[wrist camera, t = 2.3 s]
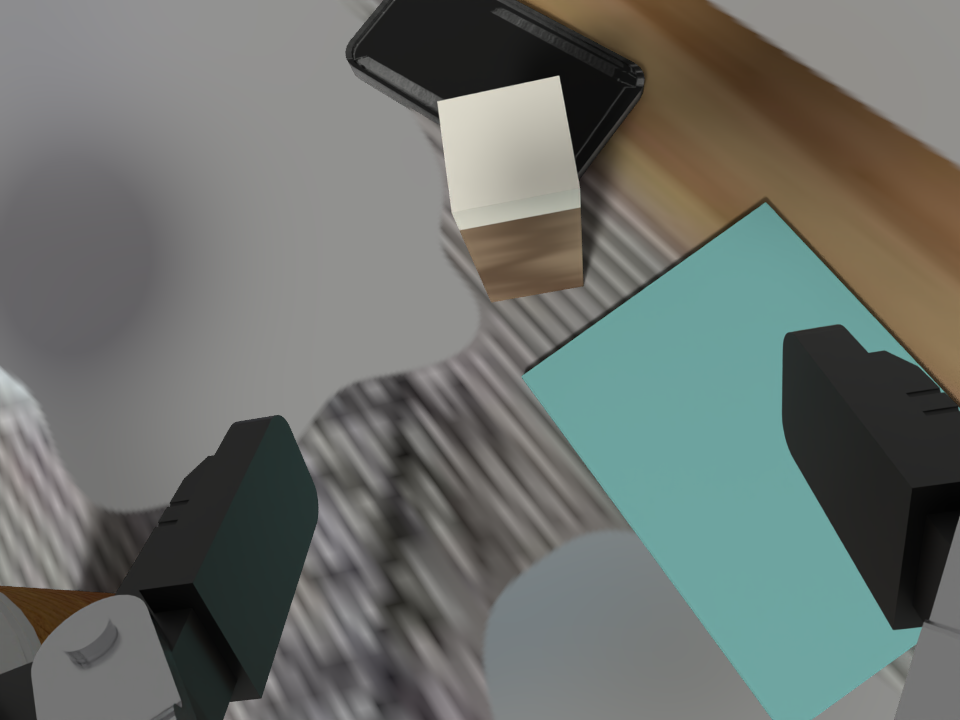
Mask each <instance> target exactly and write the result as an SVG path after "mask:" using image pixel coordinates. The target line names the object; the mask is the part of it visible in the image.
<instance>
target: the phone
mask: <svg viewBox="0 0 960 720" xmlns="http://www.w3.org/2000/svg"><path fill="white" fill-rule="evenodd" d="M346 58H347V60H348V62H349V64H350V66H351V68H352V70H353V72H354V74H355V76H357V77H358V78H359V79H360V80H362V81H364V82H365V83H367V84H368V85H370V86H372V87H373V88H375V89H377V90H378V91H380V92H382V93H383V94H385V95H387V96H388V97H390V98H391V99H393V100H395V101H396V102H398V103H400V104H401V105H403V106H405V107H406V108H408V109H409V110H410V107H411V108H412V109H414V110H415V111H417V112H419V113H420V114H422V115H424V116H425V117H427V118H429V119H430V120H432V121H434V122H435V123H437V124H439V125H440V119H439V111H438V103H437V101H442V100H446V99H451V98H456V97H461V96H465V95H470V94H475V93H479V92H484V91H489V90H493V89H498V88H503V87H508V86H512V85H517V84H522V83H526V82H531V81H536V80H541V79H545V78H550V77H555V76H559V77H560V82H561V88H562V93H563V99H564V104H565V109H566V115H567V120H568V126H569V131H570V136H571V142H572V147H573V153H574V158H575V163H576V169H577V174H578V180H579V179H580V178H581V176H582V175H583V174H584V172H585V171H586V170H587V168H588V167H589V166H590V164H591V163H592V162H593V160H594V159H595V158H596V156H597V155H598V154H599V152H600V151H601V150H602V148H603V147H604V146H605V145H606V143H607V142H608V141H609V139H610V138H611V137H612V135H613V134H614V133H615V131H616V130H617V129H618V127H619V126H620V125H621V123H622V122H623V121H624V119H625V118H626V117H627V115H628V114H629V113H630V111H631V110H632V109H633V108H634V106H635V105H636V104H637V102H638V101H639V100H640V98H641V96H642V94H643V87H644V79H645V78H644V74H643V71H642V70H641V68H640V67H639V66H638V65H637V64H635V63H634V62H632V61H630V60H628V59H626V58H624V57H622V56H620V55H619V54H617V53H615V52H613V51H611V50H609V49H607V48H605V47H603V46H601V45H600V44H598V43H596V42H594V41H592V40H590V39H588V38H586V37H584V36H583V35H581V34H579V33H577V32H575V31H573V30H571V29H569V28H567V27H565V26H564V25H562V24H560V23H558V22H556V21H554V20H552V19H550V18H548V17H547V16H545V15H543V14H541V13H539V12H537V11H535V10H533V9H531V8H530V7H528V6H526V5H524V4H522V3H520V2H518V1H516V0H383V1H382V3H381V4H380V5H379V6H378V7H377V9H376V10H375V11H374V12H373V14H372V15H371V16H370V17H369V18H368V20H367V21H366V22H365V23H364V24H363V26H362V27H361V28H360V29H359V31H358V32H357V33H356V34H355V36H354V37H353V38H352V39H351V40H350V42H349V44H348V45H347V48H346Z"/></svg>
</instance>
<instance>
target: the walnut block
mask: <svg viewBox="0 0 960 720" xmlns="http://www.w3.org/2000/svg"><path fill="white" fill-rule="evenodd" d="M437 103H438V111H439V119H440V126H441V134H442V141H443V149H444V157H445V164H446V172H447V180H448V187H449V195H450V202H451V210H452V214H453V216H454V219H455V221H456V223H457V225H458V228H459V230H460V232H461V235H462V237H463V239H464V241H465V244H466V246H467V248H468V250H469V253H470V255H471V257H472V260H473V262H474V264H475V266H476V269H477V271H478V273H479V275H480V278H481V280H482V282H483V285H484V287H485V289H486V291H487V294H488V296H489V298H490V300H491V302H496V301H502V300H507V299H513V298H519V297H525V296H530V295H536V294H542V293H547V292H553V291H559V290H564V289H570V288H576V287H581V286H583V262H582V232H581V202H580V185H579V180H578V174H577V169H576V163H575V158H574V153H573V147H572V142H571V136H570V131H569V126H568V120H567V115H566V109H565V104H564V99H563V93H562V88H561V82H560V77H559V76H555V77H550V78H545V79H541V80H536V81H531V82H526V83H522V84H517V85H512V86H508V87H503V88H498V89H493V90H489V91H484V92H479V93H475V94H470V95H465V96H461V97H456V98H451V99H446V100H442V101H437Z"/></svg>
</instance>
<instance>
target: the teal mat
mask: <svg viewBox="0 0 960 720" xmlns="http://www.w3.org/2000/svg"><path fill="white" fill-rule="evenodd" d="M836 324H841V325H843V326H844V327H845V328H846V329H847V330H848V331H849V332H850V333H851V334H852V335H853V336H854V338H855V339H856V340H857V341H858V342H859V343H860V344H861V345H862V346H863V347H864V348H865V349H866V351H867V352H868V353H870V352H877V351H883V350H885V351H887V352H889V353H891V354H894V355H896V356H898V357H900V358H902V359H904V360H906V361H908V362H910V363H912V364H915V365H917V366H918V367H919V368H920V369H922V367H921V366H920V365H919V364H918V363H917V362H916V361H915V360H914V359H913V358H912V357H911V356H910V355H909V354H908V353H907V352H906V350H905V349H904V348H903V347H902V346H901V345H900V344H899V343H898V342H897V341H896V340H895V339H894V338H893V337H892V336H891V335H890V334H889V332H888V331H887V330H886V329H885V328H884V327H883V326H882V325H881V324H880V323H879V322H878V321H877V320H876V319H875V318H874V317H873V315H872V314H871V313H870V312H869V311H868V310H867V309H866V308H865V307H864V306H863V305H862V304H861V303H860V302H859V301H858V300H857V298H856V297H855V296H854V295H853V294H852V293H851V292H850V291H849V290H848V289H847V288H846V287H845V286H844V285H843V284H842V283H841V281H840V280H839V279H838V278H837V277H836V276H835V275H834V274H833V273H832V272H831V271H830V270H829V269H828V268H827V267H826V266H825V265H824V263H823V262H822V261H821V260H820V259H819V258H818V257H817V256H816V255H815V254H814V253H813V252H812V251H811V250H810V249H809V248H808V246H807V245H806V244H805V243H804V242H803V241H802V240H801V239H800V238H799V237H798V236H797V235H796V234H795V233H794V232H793V231H792V229H791V228H790V227H789V226H788V225H787V224H786V223H785V222H784V221H783V220H782V219H781V218H780V217H779V216H778V215H777V214H776V212H775V211H774V210H773V209H772V208H771V207H770V206H769V205H768V204H767V203H766V202H765V203H764V204H762V205H761V206H760V207H758V208H757V209H755V210H754V211H753V212H751V213H750V214H748V215H747V216H746V217H744V218H743V219H741V220H740V221H739V222H737V223H736V224H734V225H733V226H732V227H730V228H729V229H727V230H726V231H725V232H723V233H722V234H720V235H719V236H718V237H716V238H715V239H713V240H712V241H711V242H709V243H708V244H706V245H705V246H704V247H702V248H701V249H699V250H698V251H697V252H695V253H694V254H692V255H691V256H689V257H688V258H687V259H685V260H684V261H682V262H681V263H680V264H678V265H677V266H675V267H674V268H673V269H671V270H670V271H668V272H667V273H666V274H664V275H663V276H661V277H660V278H659V279H657V280H656V281H654V282H653V283H652V284H650V285H649V286H647V287H646V288H645V289H643V290H642V291H640V292H639V293H638V294H636V295H635V296H633V297H632V298H631V299H629V300H628V301H626V302H625V303H624V304H622V305H621V306H619V307H618V308H617V309H615V310H614V311H612V312H611V313H610V314H608V315H607V316H605V317H604V318H603V319H601V320H600V321H598V322H597V323H596V324H594V325H593V326H591V327H590V328H589V329H587V330H586V331H584V332H583V333H582V334H580V335H579V336H577V337H576V338H575V339H573V340H572V341H570V342H569V343H568V344H566V345H565V346H563V347H562V348H560V349H559V350H558V351H556V352H555V353H553V354H552V355H551V356H549V357H548V358H546V359H545V360H544V361H542V362H541V363H539V364H538V365H537V366H535V367H534V368H532V369H531V370H530V371H528V372H527V373H525V374H524V375H523V376H522V379H523V380H524V381H525V383H526V384H527V385H528V387H529V388H530V390H531V391H532V392H533V394H534V395H535V396H536V398H537V399H538V400H539V402H540V403H541V405H542V406H543V407H544V409H545V410H546V411H547V413H548V414H549V415H550V417H551V418H552V420H553V421H554V422H555V424H556V425H557V426H558V428H559V429H560V430H561V432H562V433H563V435H564V436H565V437H566V439H567V440H568V441H569V443H570V444H571V445H572V447H573V448H574V450H575V451H576V452H577V454H578V455H579V456H580V458H581V459H582V461H583V462H584V463H585V465H586V466H587V467H588V469H589V470H590V471H591V473H592V474H593V476H594V477H595V478H596V480H597V481H598V482H599V484H600V485H601V486H602V488H603V489H604V491H605V492H606V493H607V495H608V496H609V497H610V499H611V500H612V501H613V503H614V504H615V506H616V507H617V508H618V510H619V511H620V512H621V514H622V515H623V516H624V518H625V519H626V521H627V522H628V523H629V525H630V526H631V527H632V529H633V530H634V532H635V533H636V534H637V536H638V537H639V538H640V540H641V541H642V542H643V544H644V545H645V546H646V548H647V549H648V551H649V552H650V553H651V555H652V556H653V557H654V559H655V560H656V561H657V563H658V564H659V566H660V567H661V568H662V570H663V571H664V572H665V574H666V575H667V576H668V578H669V579H670V581H671V582H672V583H673V585H674V586H675V587H676V589H677V590H678V592H679V593H680V594H681V596H682V597H683V598H684V600H685V601H686V602H687V604H688V605H689V606H690V608H691V609H692V611H693V612H694V613H695V615H696V616H697V618H698V619H699V620H700V621H701V623H702V624H703V626H704V627H705V628H706V630H707V631H708V633H709V634H710V635H711V637H712V638H713V639H714V641H715V642H716V643H717V645H718V646H719V648H720V649H721V650H722V652H723V653H724V654H725V656H726V657H727V659H728V660H729V661H730V662H731V664H732V665H733V667H734V668H735V669H736V671H737V672H738V673H739V675H740V676H741V678H742V679H743V680H744V681H745V683H746V684H747V686H748V687H749V689H750V690H751V691H752V693H753V694H754V695H755V697H756V698H757V699H758V701H759V702H760V704H761V705H762V706H763V708H764V709H765V710H766V712H767V713H768V714H769V716H770V717H771V718H772V720H812V719H813V718H815V717H816V716H817V715H819V714H820V713H822V712H823V711H824V710H826V709H827V708H828V707H830V706H831V705H833V704H834V703H835V702H837V701H838V700H840V699H841V698H842V697H844V696H845V695H846V694H847V693H849V692H851V691H852V690H853V689H855V688H856V687H857V686H859V685H860V684H862V683H863V682H864V681H866V680H867V679H869V678H870V677H871V676H873V675H874V674H875V673H877V672H878V671H880V670H881V669H882V668H884V667H885V666H886V665H888V664H889V663H891V662H892V661H893V660H895V659H896V658H897V657H899V656H900V655H902V654H903V653H904V652H906V651H907V650H909V649H910V648H911V647H913V646H914V645H915V644H917V641H918V638H919V635H920V632H921V629H922V627H919V628H910V629H901V630H892V628H891V626H890V624H889V623H888V621H887V619H886V618H885V616H884V614H883V612H882V611H881V609H880V607H879V605H878V604H877V602H876V600H875V599H874V597H873V595H872V593H871V592H870V590H869V588H868V587H867V585H866V583H865V581H864V580H863V578H862V576H861V574H860V573H859V571H858V569H857V568H856V566H855V564H854V562H853V561H852V559H851V557H850V556H849V554H848V552H847V550H846V549H845V547H844V545H843V543H842V542H841V540H840V538H839V537H838V535H837V533H836V531H835V530H834V528H833V526H832V525H831V523H830V521H829V519H828V518H827V516H826V514H825V512H824V511H823V509H822V507H821V506H820V504H819V502H818V500H817V499H816V497H815V495H814V494H813V492H812V490H811V488H810V487H809V485H808V483H807V481H806V480H805V478H804V476H803V475H802V473H801V471H800V469H799V468H798V466H797V464H796V463H795V461H794V459H793V457H792V455H791V453H790V451H789V449H788V446H787V443H786V439H785V435H784V430H783V424H782V359H783V340H784V337H785V335H786V334H787V333H788V332H793V331H799V330H805V329H811V328H817V327H824V326H830V325H836ZM922 370H923V369H922ZM923 371H924V370H923ZM924 372H925V371H924ZM925 373H926V372H925ZM926 374H927V373H926ZM927 375H928V374H927ZM928 376H929V375H928ZM929 377H930V376H929ZM930 378H931V377H930ZM931 379H932V378H931ZM932 380H933V379H932ZM933 381H934V380H933ZM934 382H935V381H934ZM935 383H936V382H935ZM936 384H937V383H936ZM937 385H938V384H937ZM940 391H941V393H942V392H944V391H943V390H942V389H941V388H940ZM958 409H959V411H960V408H959V407H958Z"/></svg>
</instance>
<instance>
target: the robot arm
mask: <svg viewBox="0 0 960 720" xmlns="http://www.w3.org/2000/svg"><path fill="white" fill-rule="evenodd" d="M782 424H783V430H784V435H785V439H786V443H787V446H788V449H789V451H790V453H791V455H792V457H793V459H794V461H795V463H796V464H797V466H798V468H799V469H800V471H801V473H802V475H803V476H804V478H805V480H806V481H807V483H808V485H809V487H810V488H811V490H812V492H813V494H814V495H815V497H816V499H817V500H818V502H819V504H820V506H821V507H822V509H823V511H824V512H825V514H826V516H827V518H828V519H829V521H830V523H831V525H832V526H833V528H834V530H835V531H836V533H837V535H838V537H839V538H840V540H841V542H842V543H843V545H844V547H845V549H846V550H847V552H848V554H849V556H850V557H851V559H852V561H853V562H854V564H855V566H856V568H857V569H858V571H859V573H860V574H861V576H862V578H863V580H864V581H865V583H866V585H867V587H868V588H869V590H870V592H871V593H872V595H873V597H874V599H875V600H876V602H877V604H878V605H879V607H880V609H881V611H882V612H883V614H884V616H885V618H886V619H887V621H888V623H889V624H890V626H891V628H892V630H901V629H910V628H919V627H922V629H921V632H920V635H919V638H918V641H917V645H916V648H915V651H914V655H913V658H912V661H911V665H910V668H909V671H908V675H907V678H906V681H905V685H904V688H903V691H902V695H901V698H900V701H899V705H898V708H897V711H896V715H895V718H894V720H960V411H959V409H958V405H957V404H956V403H955V402H954V401H953V400H952V399H951V398H950V397H949V396H948V395H947V394H946V393H945V392H942V393H941V391H940V387H939V386H938V385H937V384H936V383H935V382H934V381H933V380H932V379H931V378H930V377H929V376H928V375H927V374H926V373H925V372H924V371H923V370H922V369H920V368H919V367H918V366H917V365H915V364H912V363H910V362H908V361H906V360H904V359H902V358H900V357H898V356H896V355H894V354H891V353H889V352H887V351H885V350H883V351H877V352H870V353H868V352H867V351H866V349H865V348H864V347H863V346H862V345H861V344H860V343H859V342H858V341H857V340H856V339H855V338H854V336H853V335H852V334H851V333H850V332H849V331H848V330H847V329H846V328H845V327H844V326H843V325H841V324H836V325H830V326H824V327H817V328H811V329H805V330H799V331H793V332H788V333H787V334H786V335H785V337H784V340H783V359H782ZM317 520H318V498H317V492H316V488H315V485H314V483H313V480H312V478H311V476H310V473H309V471H308V469H307V466H306V464H305V462H304V459H303V457H302V454H301V452H300V450H299V447H298V445H297V443H296V440H295V438H294V436H293V433H292V431H291V429H290V426H289V424H288V423H287V421H286V420H285V419H284V418H283V417H282V416H280V415H275V416H269V417H263V418H257V419H251V420H245V421H239V422H235V423H234V424H232V425H231V427H230V429H229V430H228V432H227V434H226V435H225V437H224V439H223V441H222V443H221V444H220V446H219V448H218V450H217V452H216V453H215V455H214V456H208V457H207V458H206V459H205V460H204V461H203V462H202V463H200V465H198V466H197V467H196V468H195V469H194V470H193V471H192V472H191V473H190V474H189V475H188V476H187V477H186V478H184V480H183V481H182V483H181V485H180V486H179V488H178V490H177V492H176V493H175V495H174V497H173V498H172V500H171V502H170V507H167V508H166V510H165V512H164V513H163V515H162V517H161V518H160V520H159V522H158V523H159V527H155V528H154V530H153V532H152V534H151V535H150V537H149V539H148V540H147V542H146V544H145V545H144V547H143V549H142V550H141V552H140V554H139V555H138V557H137V559H136V560H135V562H134V564H133V566H132V567H131V569H130V571H129V572H128V574H127V576H126V577H125V579H124V581H123V582H122V584H121V586H120V587H119V589H118V591H117V592H116V594H115V596H111V597H108V598H104V599H101V600H99V601H96V602H94V603H92V604H90V605H88V606H86V607H84V608H82V609H80V610H79V611H77V612H76V613H74V614H73V615H71V616H70V617H69V618H67V619H66V620H65V621H64V622H62V623H61V624H60V625H59V626H58V627H57V628H56V629H55V630H54V631H53V632H52V633H51V634H50V635H49V636H48V637H47V639H46V640H45V641H44V642H43V644H42V645H41V647H40V648H39V650H38V652H37V654H36V656H35V658H34V660H33V662H30V663H28V664H25V665H23V666H20V667H17V668H15V669H12V670H10V671H7V672H5V673H2V674H0V720H223V719H224V716H225V713H226V710H227V707H228V705H229V702H233V701H242V700H251V699H260V698H262V695H263V691H264V688H265V685H266V682H267V679H268V676H269V672H270V669H271V666H272V663H273V660H274V657H275V654H276V650H277V647H278V644H279V641H280V638H281V635H282V631H283V628H284V625H285V622H286V619H287V616H288V612H289V609H290V606H291V603H292V600H293V597H294V594H295V590H296V587H297V584H298V581H299V578H300V575H301V571H302V568H303V565H304V562H305V559H306V556H307V552H308V549H309V546H310V543H311V540H312V537H313V533H314V530H315V527H316V524H317Z"/></svg>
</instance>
